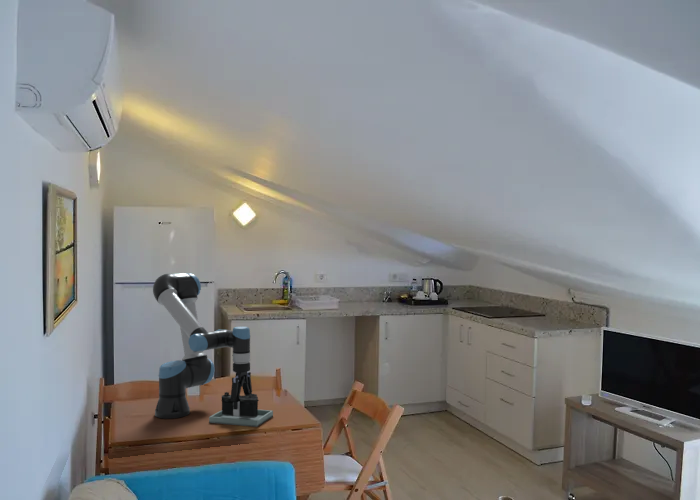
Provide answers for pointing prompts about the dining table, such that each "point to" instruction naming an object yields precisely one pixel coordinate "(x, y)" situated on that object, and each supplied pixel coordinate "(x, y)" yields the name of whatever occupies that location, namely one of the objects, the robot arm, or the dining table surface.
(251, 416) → the camera
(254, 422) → the storage tray
